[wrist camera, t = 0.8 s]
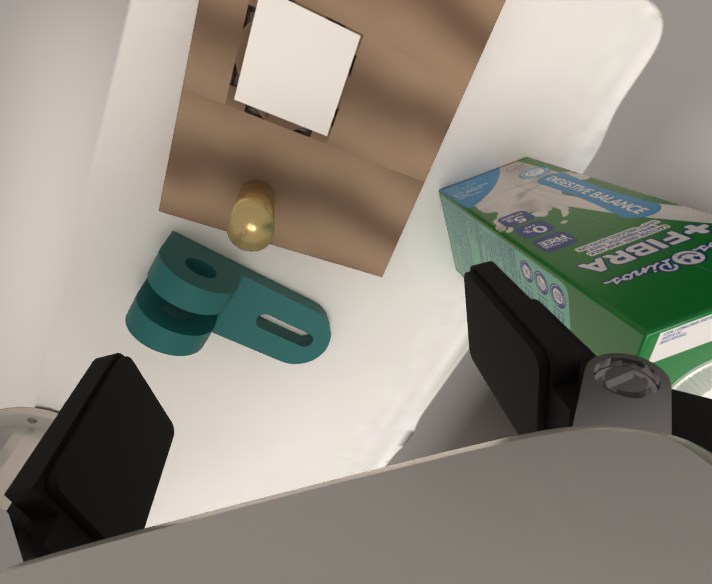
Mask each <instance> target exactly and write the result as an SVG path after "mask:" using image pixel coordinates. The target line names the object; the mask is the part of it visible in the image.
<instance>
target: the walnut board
mask: <svg viewBox="0 0 712 584" xmlns="http://www.w3.org/2000/svg"><path fill="white" fill-rule="evenodd" d="M288 1H290V2H293V3H295V4H297V5H299V6H301V7H303V8H305V9H307V10H309V11H311V12H313V13H315V14H317V15H319V16H321V17H323V18H325V19H327V20H329V21H331V22H333V23H335V24H337V25H339V26H342V27H344V28H346V29H348V30H350V31H352V32H354V33H356V34H358V35H360V36H361V37H360V40H359V43H358V46H357V48H356V51H355V54H354V57H353V60H352V63H351V66H350V69H349V72H348V75H347V78H346V81H345V84H344V87H343V90H342V93H341V96H340V99H339V102H338V105H337V108H336V111H335V114H334V117H333V120H332V123H331V126H330V129H329V132H328V135H327V136H325V135H322V134H320V133H317V132H315V131H312V130H309V133H308V134H307V133H304V132H302V131H299V130H297V129H302V128H305V127H302V126H300V125H297V124H295V123H292V122H290V121H287V120H285V119H282V118H280V117H277V116H275V115H272V114H269V113H267V112H264V111H262V110H259V109H257V108H255V110H256V111H257V112H258V113H259V114H260V115H258V114H256V113H253V112H251V111H248V110H246V109H247V106H248V105H247V104H244V103H242V102H239V101H237V100H234V98H235V94H236V90H237V86H236V85H233V83H234V78H235V74H236V70H237V72H238V76H239V77H240V73H241V69H242V65H243V61H244V56H245V52H246V48H247V44H248V40H249V36H250V32H251V27H252V23H253V19H254V18H253V19H252V20H251V21H250V22H249V23H248V19H249V15H250V11H251V10H252V11H254V12H255V11H256V7H257V2H258V0H199V4H198V9H197V15H196V20H195V25H194V30H193V35H192V41H191V46H190V51H189V56H188V61H187V67H186V72H185V77H184V82H183V87H182V93H181V98H180V103H179V108H178V113H177V119H176V124H175V129H174V134H173V140H172V145H171V150H170V155H169V160H168V166H167V171H166V176H165V181H164V186H163V192H162V197H161V202H160V207H159V211H160V212H163V213H167V214H170V215H174V216H177V217H180V218H184V219H187V220H190V221H194V222H197V223H201V224H204V225H207V226H211V227H214V228H218V229H221V230H224V231H227V223H228V220H229V218H230V215H231V212H232V209H233V206H234V204H235V201H236V198H237V195H238V193H239V190H240V188H241V187H242V186H243V185H244V184H245V183H246V182H248V181H251V180H260V181H263V182H265V183H267V184H268V185H269V186H270V187H271V188H272V190H273V191H274V194H275V228H274V237H273V239H272V241H271V243H270V244H272V245H275V246H278V247H282V248H285V249H289V250H292V251H295V252H299V253H302V254H306V255H309V256H312V257H316V258H319V259H322V260H326V261H329V262H333V263H336V264H339V265H343V266H346V267H350V268H353V269H356V270H360V271H363V272H366V273H370V274H373V275H377V276H380V277H382V276H383V274H384V272H385V269H386V267H387V265H388V263H389V260H390V258H391V256H392V254H393V251H394V249H395V247H396V245H397V242H398V240H399V238H400V236H401V233H402V231H403V229H404V227H405V225H406V222H407V220H408V218H409V216H410V213H411V211H412V209H413V207H414V204H415V202H416V200H417V198H418V195H419V193H420V191H421V189H422V186H423V184H424V182H425V180H426V178H427V175H428V173H429V171H430V169H431V166H432V164H433V162H434V160H435V157H436V155H437V153H438V151H439V148H440V146H441V144H442V142H443V139H444V137H445V135H446V133H447V131H448V128H449V126H450V124H451V122H452V119H453V117H454V115H455V113H456V110H457V108H458V106H459V104H460V101H461V99H462V97H463V95H464V92H465V90H466V88H467V86H468V83H469V81H470V79H471V77H472V75H473V72H474V70H475V68H476V66H477V63H478V61H479V59H480V57H481V54H482V52H483V50H484V48H485V45H486V43H487V41H488V39H489V36H490V34H491V32H492V30H493V28H494V25H495V23H496V21H497V19H498V16H499V14H500V12H501V10H502V7H503V5H504V3H505V1H506V0H288Z"/></svg>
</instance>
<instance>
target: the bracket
mask: <svg viewBox="0 0 712 584" xmlns="http://www.w3.org/2000/svg"><path fill="white" fill-rule="evenodd" d="M262 314H267V315H270V316H272V317H274V318H276V319H278V320H281V321H283V322H285V323H287V324H289V325H291V326H294V327H296V328H298V329H300V330H302V331H304V332H307V333H309V334H308V335H305V336H301V335H299V334H296V333H294V332H292V331H290V330H288V329H285V328H283V327H281V326H279V325H277V324H275V323H272V322H270V321H268V320H266V319H264V318H261V317H260V315H262ZM126 325H127V328H128V330H129V331H130V333H131V334H132V335H133V336H134V337H135V338H136V339H137V340H138V341H139V342H141V343H142V344H144V345H145V346H147V347H149V348H151V349H153V350H155V351H158V352H161V353H164V354H168V355H174V356H186V355H191V354H194V353H196V352H198V351H199V350H200V349H201V348H202V347H203V345H204V344H205V342H206V340H207V339H208V337H209V335H210V334H211V332H213V333H215V334H218V335H220V336H222V337H225V338H227V339H230V340H232V341H234V342H237V343H239V344H241V345H244V346H246V347H249V348H251V349H253V350H256V351H258V352H260V353H263V354H265V355H268V356H270V357H272V358H275V359H277V360H279V361H282V362H285V363H290V364H301V363H306V362H309V361H312V360H314V359H316V358H317V357H319V356H320V355H321V354H322V353H323V352H324V351H325V350H326V348H327V347H328V345H329V342H330V338H331V331H330V326H329V321H328V317H327V314H326V312H325V311H324V309H323V308H322V307H321V306H320V305H319V304H317V303H316V302H314V301H312V300H310V299H308V298H306V297H304V296H302V295H300V294H298V293H296V292H294V291H292V290H290V289H288V288H286V287H284V286H282V285H280V284H278V283H276V282H274V281H272V280H270V279H268V278H266V277H264V276H262V275H260V274H258V273H256V272H254V271H252V270H250V269H248V268H246V267H244V266H242V265H240V264H238V263H236V262H234V261H232V260H230V259H228V258H226V257H224V256H222V255H220V254H218V253H216V252H214V251H212V250H210V249H208V248H206V247H204V246H202V245H200V244H198V243H196V242H194V241H192V240H190V239H188V238H186V237H184V236H182V235H180V234H178V233H176V232H174V231H172V233H171V234H170V236H169V237H168V238H167V240H166V241H165V243H164V244H163V246H162V247H161V248H160V250H159V252H158V254H157V256H156V258H155V260H154V262H153V264H152V266H151V268H150V270H149V272H148V277H147V279H146V281H145V283H144V284H143V286H142V287H141V289H140V290H139V292H138V293H137V295H136V297H135V299H134V301H133V303H132V305H131V307H130V309H129V311H128V313H127V315H126Z"/></svg>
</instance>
